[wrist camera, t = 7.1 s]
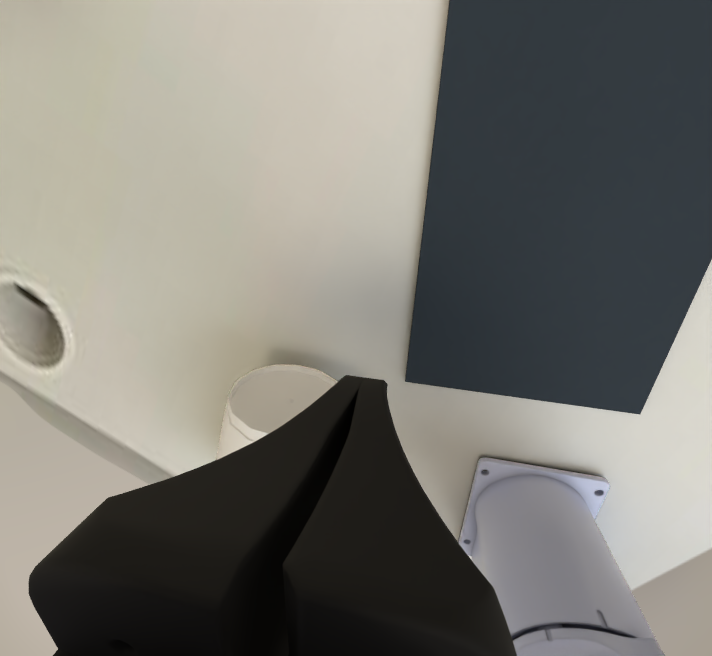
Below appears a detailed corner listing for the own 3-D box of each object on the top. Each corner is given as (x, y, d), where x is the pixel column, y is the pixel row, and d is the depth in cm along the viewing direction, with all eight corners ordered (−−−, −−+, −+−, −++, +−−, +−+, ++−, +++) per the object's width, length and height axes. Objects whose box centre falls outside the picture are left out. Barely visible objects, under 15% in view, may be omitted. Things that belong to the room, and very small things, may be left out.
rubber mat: (637, 411, 19) (640, 414, 19) (405, 379, 21) (405, 381, 21) (851, -60, 11) (862, -67, 11) (453, -35, 14) (454, -40, 13)
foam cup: (205, 491, 12) (209, 663, 17) (408, 437, 16) (362, 587, 22) (189, 358, 19) (195, 507, 25) (332, 346, 24) (311, 474, 29)
